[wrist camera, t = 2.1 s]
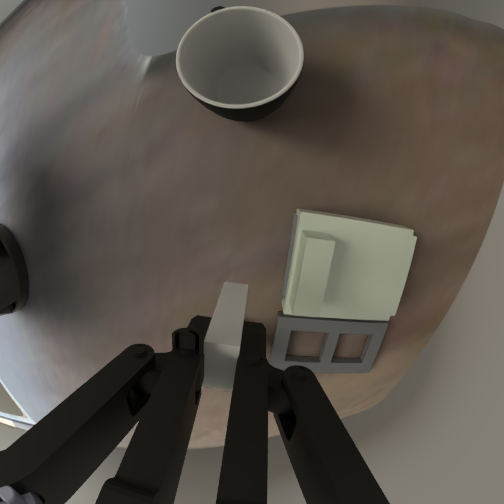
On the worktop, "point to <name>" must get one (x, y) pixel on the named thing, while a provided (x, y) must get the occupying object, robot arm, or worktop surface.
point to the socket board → (327, 343)
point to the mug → (240, 61)
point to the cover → (347, 267)
